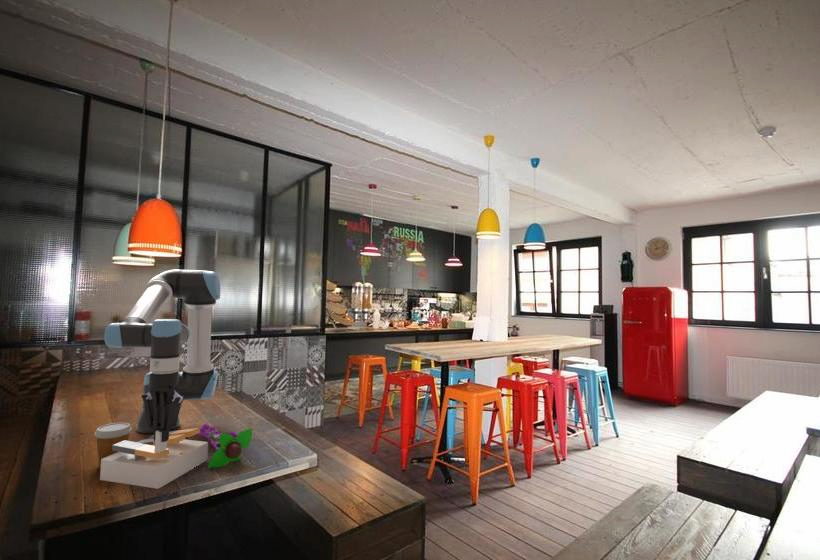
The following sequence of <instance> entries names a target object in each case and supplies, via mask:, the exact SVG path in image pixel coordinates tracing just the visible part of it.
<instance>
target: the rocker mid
mask: <svg viewBox="0 0 820 560" xmlns="http://www.w3.org/2000/svg"><path fill="white" fill-rule="evenodd" d="M185 439H186V437H185V434H182V435H174V436H169V439H168V441H167V445H170V444H176V443H178V442H181V441H183V440H185ZM136 443H142V444H147V445H152V446H155V441H154V438H152V439H149V438H148V439H147V438H146V439H141V440H139V441H136Z"/></svg>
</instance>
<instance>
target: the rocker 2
mask: <svg viewBox="0 0 820 560" xmlns="http://www.w3.org/2000/svg"><path fill="white" fill-rule="evenodd" d="M200 429H201V428H200V427H194V428H193V427H192V428H186V429H178V430H169V436H174V435H182V434H185V438H190V437H194V436H195V435H197V434H198V433H200ZM198 435H199V434H198ZM152 438H154V434H153V435H151V436H148V439H152Z"/></svg>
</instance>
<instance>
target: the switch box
mask: <svg viewBox="0 0 820 560" xmlns="http://www.w3.org/2000/svg"><path fill="white" fill-rule="evenodd" d="M167 448H168V449H169V454H168V455H166V456H164V457H162V458H160V459H153V458H148V457H143V456H138V455H133V454H128V453H123V452H117V453H115V454H113V455H110V456H108V457H105V458H103V459H101V468H100V473H99V475H100V476H99V481H105V482H110V483H117V484H118V483H119V484H126V485H130V486H139V487H142V488H143V487H144V488H151V489H160V488H162V487H164V486H165V485H167V484H169V483H171V482H172V481H174V480H176V479H178V478H180V477H181V476H183V475H185V474H186V473H188V472H190V471H191V470H193V469H195V468H197V467H198V466H200V465H201V463H202V464H204V463H205V462H207V461H208V449H209V441H202V440H192V439H186V438H185V440H183V441H181V442H178V443H176V444H170V445H167ZM206 460H207V461H206ZM203 462H204V463H203ZM196 466H197V467H196ZM194 467H195V468H194ZM189 470H190V471H189Z"/></svg>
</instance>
